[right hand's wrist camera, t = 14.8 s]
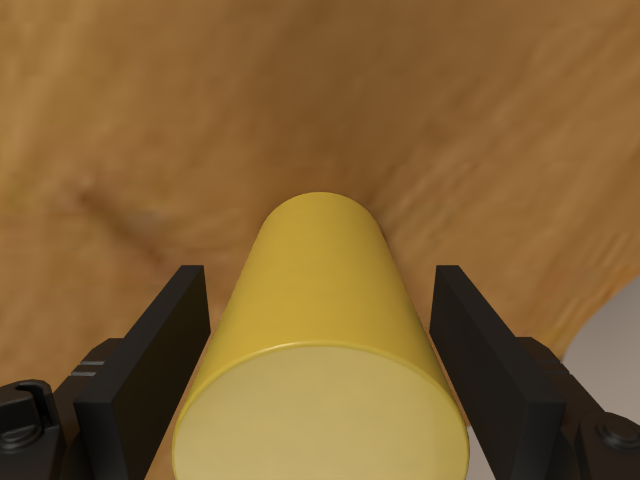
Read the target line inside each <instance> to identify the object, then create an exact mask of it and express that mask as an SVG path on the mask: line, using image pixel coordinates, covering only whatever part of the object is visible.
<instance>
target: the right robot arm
mask: <svg viewBox="0 0 640 480" xmlns="http://www.w3.org/2000/svg"><path fill="white" fill-rule="evenodd" d="M210 333H211V330H210V321H209V312H208V302H207V293H206V284H205V275H204V266H203V265H182V266H181V267H180V268H179V269H178V271H177V272H176V273H175V274H174V276H173V277H172V278H171V279H170V281H169V282H168V283H167V284H166V286H165V287H164V288H163V289H162V291H161V292H160V293H159V294H158V296H157V297H156V298H155V299H154V301H153V302H152V303H151V304H150V306H149V307H148V308H147V309H146V311H145V312H144V313H143V314H142V316H141V317H140V318H139V319H138V321H137V322H136V323H135V324H134V326H133V327H132V328H131V329H130V331H129V332H128V333H127V334H126V336H125V337H124V338H109V339H107V340H106V341H104V342H103V343H101V344H100V345H98V346H96V347H95V348H93V349H92V350H91V351H90V352H89V353H88V354H87V356H86V357H85V358H84V359H83V360H82V361H81V364H80V365H78V366H77V367H76V368H75V369H74V370H73V371H72V372H71V376H68V377H67V378H66V379H65V380H64V382H63V383H62V384H61V385H60V386H59V387H58V388H57V389H56V391H55V392H54V393H53V394H52V390H51V387H50V385H49V384H48V383H46V382H45V381H42V380H34V379H31V380H23V381H17V382H14V383H11V384H8V385H5V386H2V387H0V480H144V479H145V477H146V474H147V472H148V470H149V468H150V465H151V463H152V461H153V459H154V457H155V454H156V452H157V450H158V448H159V446H160V443H161V441H162V439H163V437H164V435H165V432H166V430H167V428H168V426H169V424H170V421H171V419H172V417H173V415H174V413H175V410H176V408H177V406H178V404H179V402H180V399H181V397H182V395H183V393H184V391H185V388H186V386H187V384H188V382H189V380H190V377H191V375H192V373H193V371H194V369H195V366H196V364H197V362H198V360H199V358H200V355H201V353H202V351H203V349H204V347H205V344H206V342H207V340H208V338H209V336H210ZM429 333H430V336H431V338H432V340H433V342H434V344H435V347H436V349H437V351H438V353H439V355H440V358H441V360H442V362H443V364H444V366H445V369H446V371H447V373H448V375H449V377H450V380H451V382H452V384H453V386H454V388H455V391H456V393H457V395H458V397H459V399H460V402H461V404H462V406H463V408H464V410H465V413H466V415H467V417H468V419H469V421H470V424H471V426H472V428H473V430H474V432H475V435H476V437H477V439H478V441H479V443H480V446H481V448H482V450H483V452H484V455H485V457H486V459H487V461H488V463H489V466H490V468H491V470H492V472H493V474H494V477H495V479H496V480H640V425H638V424H636V423H634V422H632V421H631V420H629V419H627V418H625V417H622V416H619V415H616V414H613V413H609V412H605V411H604V410H603V409H602V408H601V407H600V405H599V404H598V403H597V402H596V401H595V400H594V399H593V398H592V396H591V395H590V394H589V393H588V392H587V391H586V390H585V389H584V388H583V386H582V385H581V384H580V383H579V382H578V381H577V380H576V379H575V377H574V376H573V375H571V374H570V373H569V371H568V370H567V368H566V367H565V366H564V365H563V364H560V361H559V360H558V358H557V357H556V356H555V355H554V354H553V353H552V352H551V351H550V349H549V348H547V347H546V346H544V345H543V344H541V343H540V342H538V341H536V340H535V339H533V338H532V337H515V336H514V334H513V333H512V332H511V331H510V329H509V328H508V327H507V326H506V324H505V323H504V322H503V321H502V319H501V318H500V317H499V316H498V314H497V313H496V312H495V311H494V309H493V308H492V307H491V306H490V304H489V303H488V302H487V301H486V299H485V298H484V297H483V296H482V294H481V293H480V292H479V291H478V289H477V288H476V287H475V286H474V284H473V283H472V282H471V281H470V279H469V278H468V277H467V276H466V274H465V273H464V272H463V271H462V269H461V268H460V267H459V266H458V265H437V266H436V275H435V284H434V293H433V302H432V311H431V321H430V330H429Z"/></svg>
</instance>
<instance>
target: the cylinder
mask: <svg viewBox="0 0 640 480" xmlns="http://www.w3.org/2000/svg"><path fill="white" fill-rule="evenodd" d="M171 451H172V466H173V471H174V475H175V479H176V480H465V479H466V475H467V472H468V466H469V457H470V447H469V436H468V432H467V428H466V424H465V421H464V419H463V417H462V414H461V412H460V410H459V408H458V405H457V403H456V401H455V399H454V396H453V394H452V392H451V389H450V387H449V385H448V383H447V380H446V378H445V376H444V373H443V371H442V369H441V367H440V364H439V362H438V360H437V358H436V355H435V353H434V351H433V348H432V346H431V344H430V342H429V339H428V337H427V335H426V332H425V330H424V328H423V326H422V323H421V321H420V319H419V317H418V314H417V312H416V310H415V307H414V305H413V303H412V301H411V298H410V296H409V294H408V292H407V289H406V287H405V285H404V282H403V280H402V278H401V276H400V273H399V271H398V269H397V266H396V264H395V262H394V260H393V257H392V255H391V253H390V251H389V248H388V246H387V244H386V241H385V239H384V237H383V235H382V232H381V230H380V228H379V226H378V224H377V222H376V221H375V219H374V218H373V217H372V215H371V214H370V213H369V212H368V211H367V210H366V209H365V208H364V207H363V206H361V205H360V204H358V203H357V202H355V201H353V200H351V199H350V198H348V197H345V196H342V195H339V194H334V193H328V192H312V193H306V194H302V195H299V196H295V197H293V198H291V199H289V200H287V201H285V202H284V203H282V204H281V205H279V206H278V207H277V208H276V209H275V210H273V211H272V213H271V214H270V215H269V216H268V217H267V219H266V220H265V221H264V223H263V225H262V227H261V229H260V231H259V233H258V235H257V238H256V240H255V242H254V245H253V247H252V249H251V252H250V254H249V256H248V258H247V261H246V263H245V265H244V268H243V270H242V272H241V274H240V277H239V279H238V281H237V284H236V286H235V288H234V291H233V293H232V295H231V297H230V300H229V302H228V304H227V307H226V309H225V311H224V313H223V316H222V318H221V320H220V323H219V325H218V327H217V330H216V332H215V334H214V336H213V339H212V341H211V343H210V346H209V348H208V350H207V352H206V355H205V357H204V359H203V362H202V364H201V366H200V369H199V371H198V373H197V375H196V378H195V380H194V382H193V385H192V387H191V389H190V391H189V394H188V396H187V398H186V401H185V403H184V405H183V408H182V410H181V412H180V414H179V417H178V419H177V422H176V426H175V429H174V432H173V439H172V447H171Z"/></svg>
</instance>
